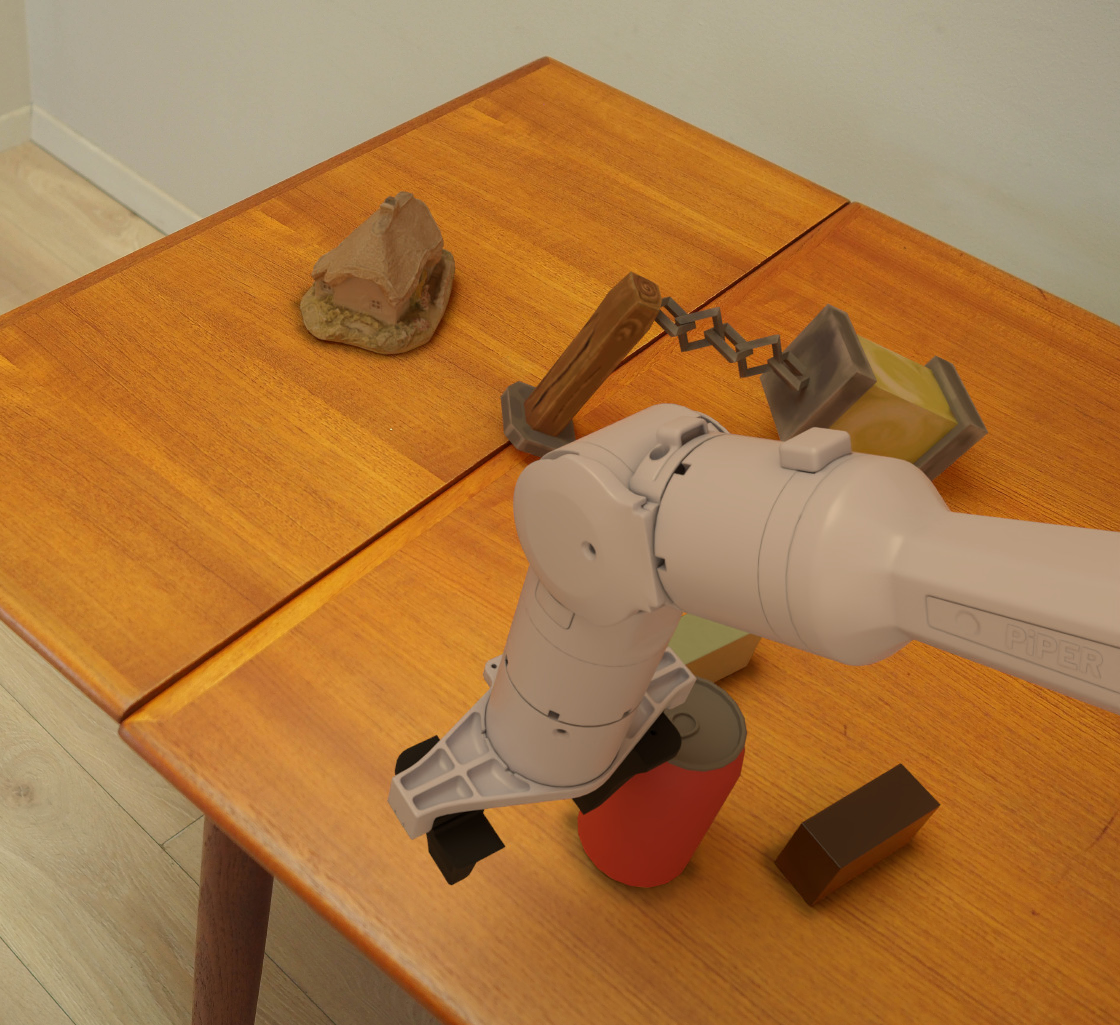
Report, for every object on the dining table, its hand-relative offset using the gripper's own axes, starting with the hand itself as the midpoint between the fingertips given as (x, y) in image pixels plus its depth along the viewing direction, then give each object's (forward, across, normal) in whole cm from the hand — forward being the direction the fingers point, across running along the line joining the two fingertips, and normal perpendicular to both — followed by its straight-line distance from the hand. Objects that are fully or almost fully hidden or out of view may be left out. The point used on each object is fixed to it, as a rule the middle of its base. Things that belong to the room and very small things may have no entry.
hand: (513, 829), depth 55 cm
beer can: (+9, -10, +1) cm, 13 cm away
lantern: (+9, -36, -22) cm, 43 cm away
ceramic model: (+10, -21, -48) cm, 53 cm away
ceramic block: (+9, -20, -7) cm, 23 cm away
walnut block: (+8, -20, +7) cm, 23 cm away
